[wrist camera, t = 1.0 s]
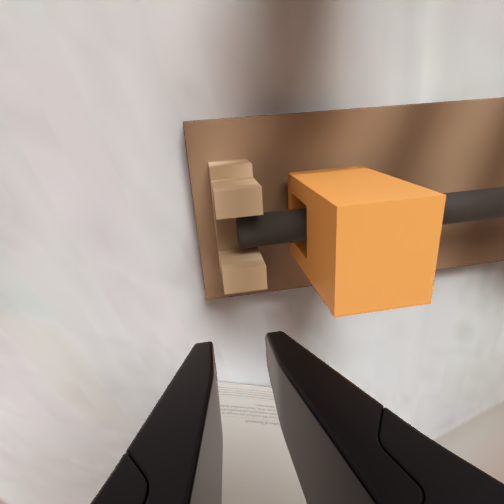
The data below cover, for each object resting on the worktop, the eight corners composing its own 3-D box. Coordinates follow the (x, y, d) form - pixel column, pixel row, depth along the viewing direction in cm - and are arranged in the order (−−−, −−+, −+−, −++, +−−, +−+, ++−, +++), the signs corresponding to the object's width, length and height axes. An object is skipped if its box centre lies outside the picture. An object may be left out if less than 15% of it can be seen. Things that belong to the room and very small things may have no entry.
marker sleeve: (361, 165, 19) (446, 194, 13) (357, 243, 21) (430, 303, 14) (287, 172, 19) (337, 206, 12) (289, 251, 20) (334, 317, 14)
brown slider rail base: (588, 90, 21) (725, 85, 16) (547, 246, 25) (645, 284, 20) (183, 121, 19) (179, 126, 13) (205, 290, 22) (209, 349, 17)
